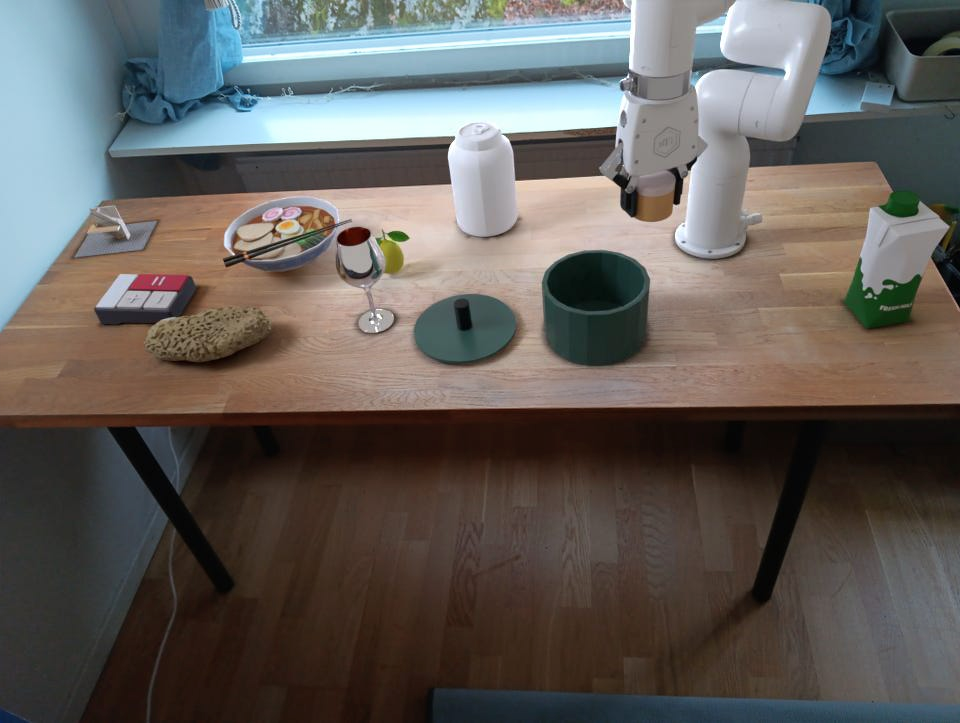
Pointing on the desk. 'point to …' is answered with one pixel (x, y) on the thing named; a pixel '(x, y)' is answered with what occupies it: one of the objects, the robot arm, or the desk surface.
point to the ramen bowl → (282, 233)
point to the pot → (595, 306)
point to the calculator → (145, 298)
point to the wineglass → (363, 272)
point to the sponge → (207, 334)
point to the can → (483, 179)
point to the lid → (465, 328)
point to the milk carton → (893, 259)
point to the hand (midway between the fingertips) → (650, 205)
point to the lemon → (392, 250)
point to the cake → (655, 196)
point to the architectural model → (113, 234)
